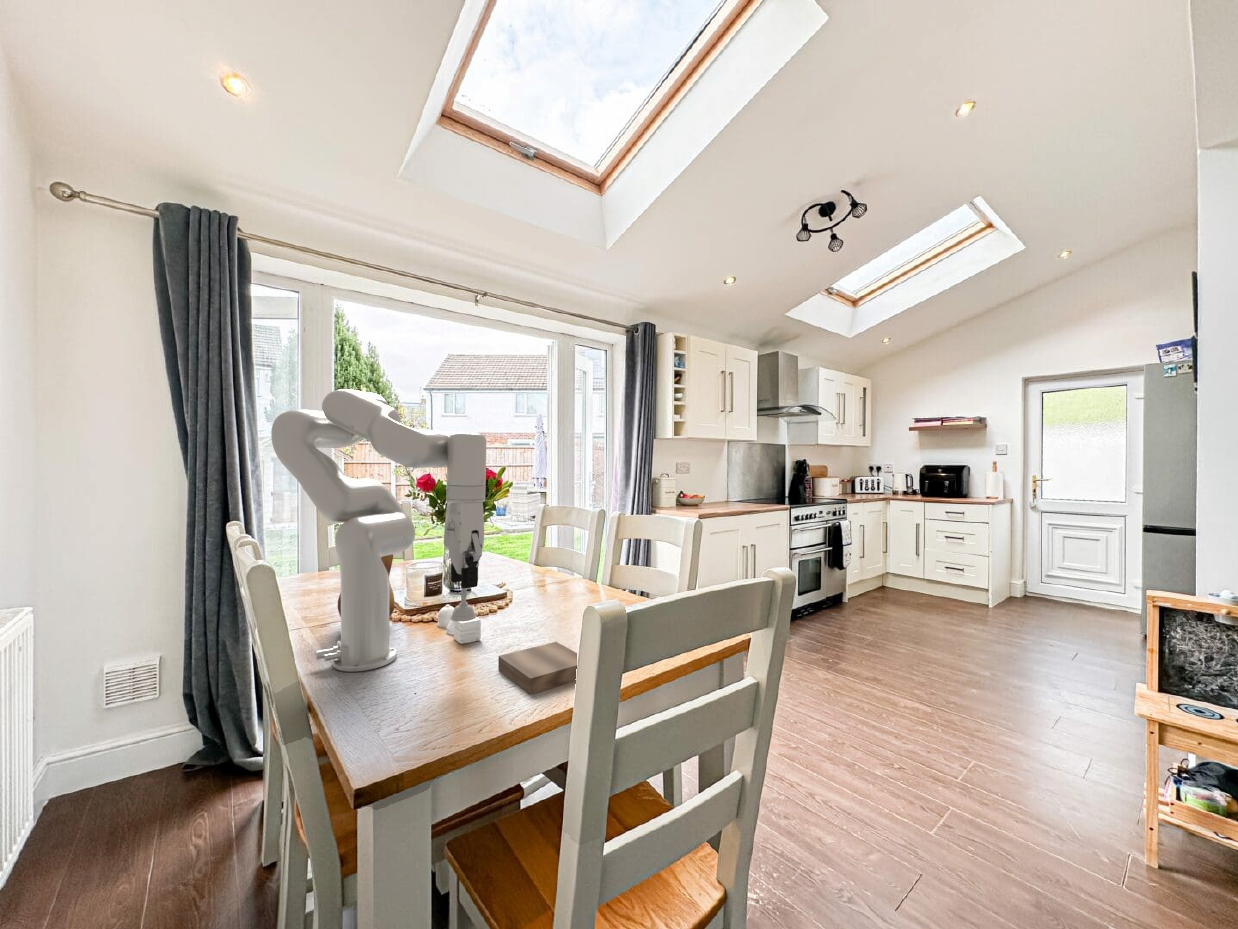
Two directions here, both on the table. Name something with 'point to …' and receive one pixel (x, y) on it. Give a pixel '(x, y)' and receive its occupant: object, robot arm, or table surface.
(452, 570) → the robot arm
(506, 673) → the walnut plinth
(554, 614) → the table surface
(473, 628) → the container set
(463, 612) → the chalice
